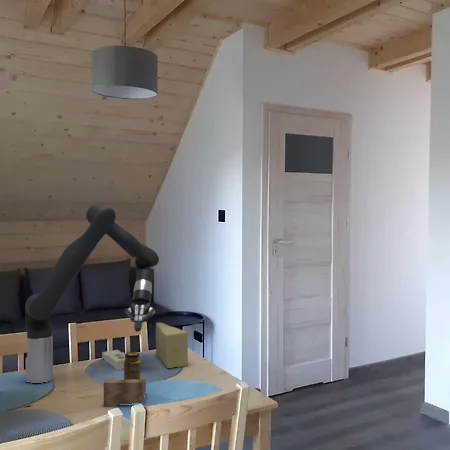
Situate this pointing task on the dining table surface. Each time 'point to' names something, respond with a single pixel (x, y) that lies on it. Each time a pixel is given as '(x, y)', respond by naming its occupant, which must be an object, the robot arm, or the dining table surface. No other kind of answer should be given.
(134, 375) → the condiment
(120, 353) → the electrical outlet
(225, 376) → the dining table surface
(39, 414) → the dining table surface
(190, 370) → the dining table surface
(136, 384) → the dark wood block
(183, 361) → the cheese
